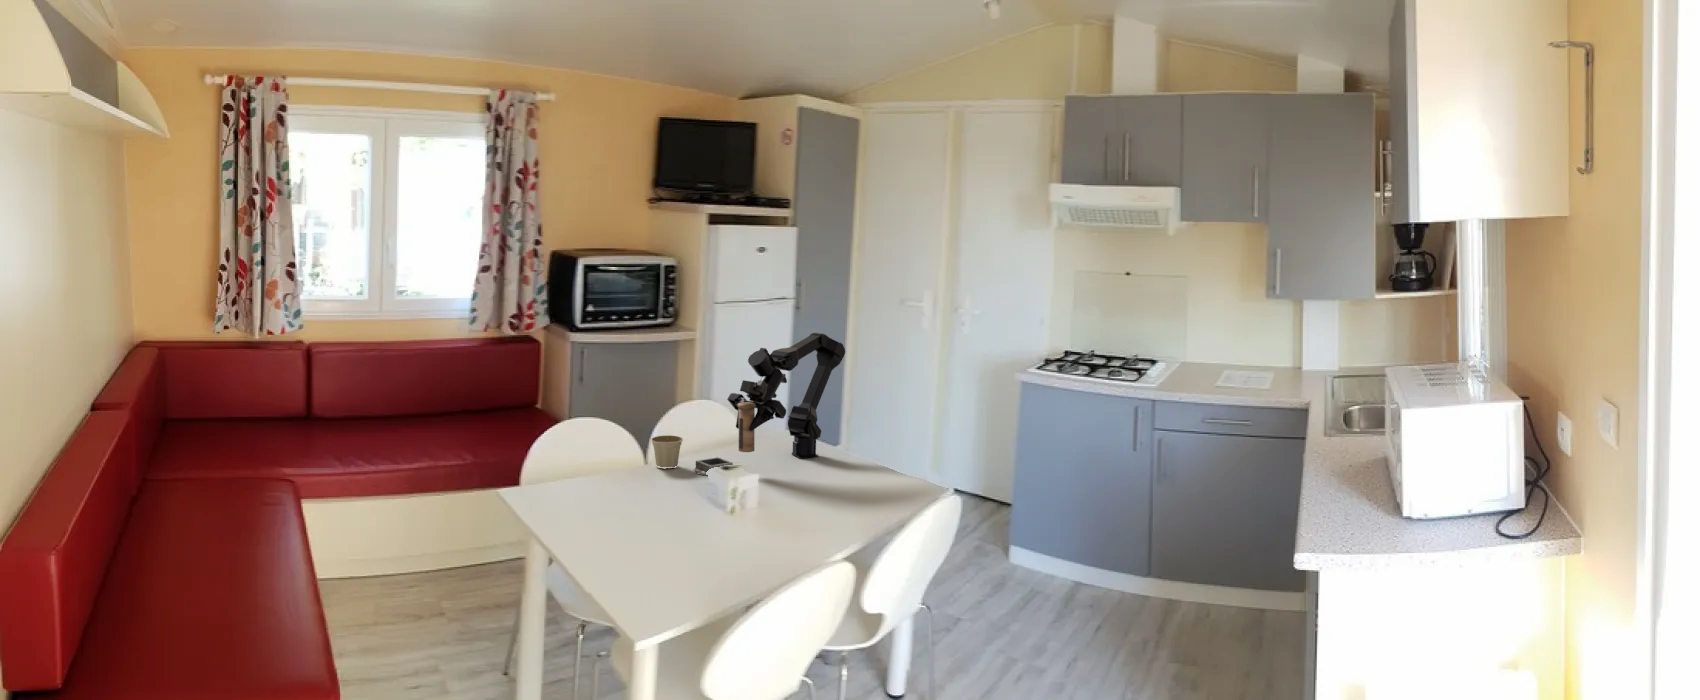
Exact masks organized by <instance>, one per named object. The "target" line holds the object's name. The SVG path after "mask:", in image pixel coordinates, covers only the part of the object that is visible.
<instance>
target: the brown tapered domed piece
mask: <svg viewBox="0 0 1700 700" xmlns="http://www.w3.org/2000/svg"><path fill="white" fill-rule="evenodd" d="M755 407H756V404H755V403H752V402H741V403H738V408H739V429H738V452H740V453H752V452H754V451H755V429H754V430H753V431H750V430H749V427H750V425H751V423H752V421H753V419H754V417H755V415H756V413H755V409H756V408H755Z"/></svg>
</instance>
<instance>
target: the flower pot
mask: <svg viewBox="0 0 1700 700" xmlns="http://www.w3.org/2000/svg"><path fill="white" fill-rule="evenodd" d="M650 441H651V442H652V446H653V450H654V451H653V452H654V457H655V465H657V466H660V467H675V466H677V465H678V464H679V460H680V459H679V456H680V451H681V446H682V442H683V441H684V438H683V437H681V436H679V435H673V434H671V435H670V434H667V435H665V434H664V435H657V436H653V437H652V438H650ZM657 466H656V467H657ZM677 467H678V466H677Z"/></svg>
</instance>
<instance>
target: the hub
mask: <svg viewBox="0 0 1700 700" xmlns="http://www.w3.org/2000/svg"><path fill="white" fill-rule="evenodd" d="M724 465H733V462H732V461H729V460H726V459H723V458H722V457H717V456H716V457H711V458H705V459H699V460H698V459H697V460H695V467H694V469H693V471H695V472H696V473H699V474H702V475H701V476H704V475H706V472H707V471H708V470H709V469H711V468H714V467H720V466H724ZM733 466H734V465H733ZM695 472H694V473H695ZM696 473H695V474H696ZM699 474H698V475H699Z"/></svg>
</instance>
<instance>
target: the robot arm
mask: <svg viewBox="0 0 1700 700" xmlns="http://www.w3.org/2000/svg"><path fill="white" fill-rule="evenodd" d="M813 352H816V355H815V356H816V361H817V366H816V367H815V370H814V372H813V374H812V376H811V377H812V378H811V379H810V382H809V384H808V387H807V389H806V392H805V393H804V396H803V399H802V402H801V403H800V404H799V405H798V406H797V405H793V406H792V408H791V411H790V414H789V415H788V420H787V426H788V427H787V428H788V431H789V436H791V437H792V436H793V441H792V452H791V455H792V456H794V457H797V458H799V459H805V458H806V459H809V458H817V457H819V454H818V453H817V440H818V439H819V438H821V434H822V429H821V428H820V427H819V425H818V424H817V422H818V414H817V413H818V412H817V408H818V405H819V403H820V400H821V398H822V396H823V394H824V391H825V390H826V389H825V388H826V386H827V384H828V381H829V379H830V376H831V374H832V371H833V370H834V369H836V368H837V367H838V366H839V365H840V364H841V362H842V361H843V359H844V357H845V354H846V348H845V346H844V344H843V343H842V342H840V341H837V340H835V339H833V338H831V337H829V336H828V335H827V334H825V333H822V332H821V333H820V332H813V333H810V335H809V336H807V337H805V338H804V339H801V340H800V341H798V342H796V343H794V344H793V345H791V346H790V347H783V348H778V349H774V350H773V351H772V352H771V353H769V351H768V350H767V348H766V347H760V348H759V349H758V350H756V351H754V352H753V353H752V354H749V356H748V360H747V362H748V364H749V366H751V368H752V369H753V370H754V372H755V374H756V375H757V376H758V377H761V378H760V380H758V381H756V382H755V381H750V380H744V379H743V380H742V381H741V385H740V389H739V391H740V392H743V393H746V395H745V396H746V397H747V398H749V399H746V397H745V396H744V395H743V394H742V393H736V392H733V393H732V392H731V393H730V394H729V396H728V397H727V399H726V400H727V401H728V402H729V404H730V405H731V406H732V407H733V409H734V410H736V411H737V416H736V421H735V422H736V423H735V428H736V429H737V430H739V408H738V403H741V402H752V403H755V404H756V407H755V409H757V411H756V413H755V417H754V419H753V421H752V423H751V425H750V427H749V430H750V431H753V430H754V431H755V429H757V428H758V427H760V426H761V425H763V424H765V423H767V422H768V421H771V420H774V419H775V418H777V419H781V420H782V419H785V416H786V414H787V409H786V407H785V406H784V405H783V403H782V402H781V401H780V400H778V399H776V398H777V395H778V394H776V393H777V391H778V388H779V387H780V385H781V384H787V383H788V379H787V377H786V373H783V372H782V371H787V372H790V371H793V370H794V369H795V368H796V367H797V366H798V365H799V361H800V360H801V359H803V358H805V357H806V356H808V355H809V354H811V353H813Z"/></svg>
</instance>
